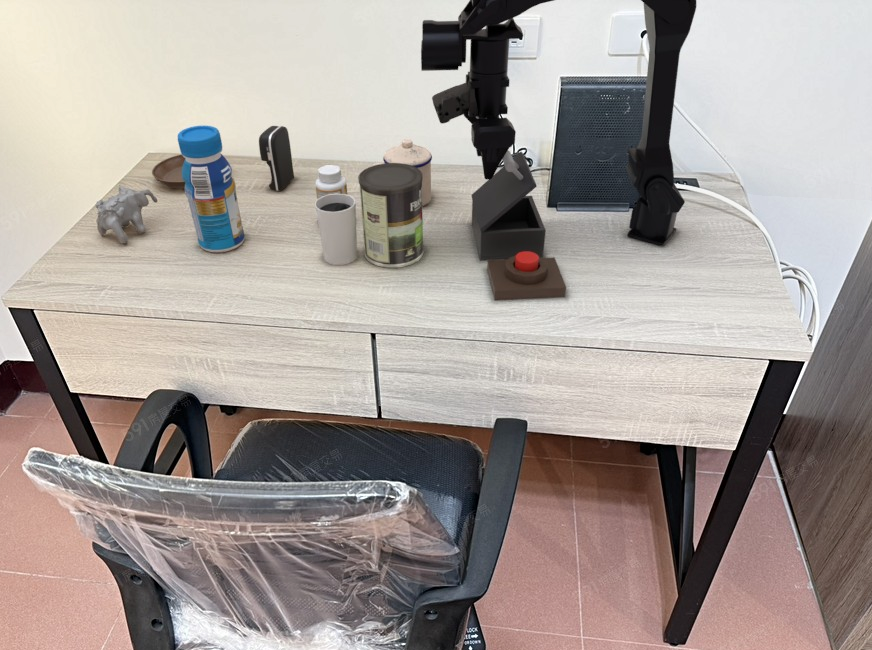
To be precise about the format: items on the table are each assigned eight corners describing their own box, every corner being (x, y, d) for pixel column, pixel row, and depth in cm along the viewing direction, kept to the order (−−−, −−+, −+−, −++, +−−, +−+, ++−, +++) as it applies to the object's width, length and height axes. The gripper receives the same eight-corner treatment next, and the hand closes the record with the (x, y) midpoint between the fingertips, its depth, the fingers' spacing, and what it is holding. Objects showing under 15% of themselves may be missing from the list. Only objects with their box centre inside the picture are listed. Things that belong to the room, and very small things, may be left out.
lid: (523, 154, 120) (506, 135, 118) (537, 186, 111) (519, 167, 109) (473, 197, 125) (456, 180, 123) (482, 232, 115) (464, 214, 113)
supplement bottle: (334, 211, 134) (329, 160, 128) (356, 220, 132) (351, 167, 125) (313, 223, 131) (307, 170, 125) (335, 232, 128) (329, 178, 122)
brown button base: (553, 267, 117) (555, 248, 115) (565, 297, 110) (567, 278, 108) (487, 270, 117) (487, 251, 114) (494, 301, 110) (495, 281, 108)
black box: (529, 222, 129) (532, 195, 125) (542, 258, 119) (545, 229, 116) (471, 225, 129) (472, 198, 125) (479, 261, 119) (481, 233, 116)
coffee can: (428, 240, 125) (427, 163, 116) (417, 270, 117) (416, 191, 108) (371, 236, 127) (366, 160, 118) (357, 265, 119) (350, 187, 110)
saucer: (142, 179, 149) (138, 166, 147) (204, 157, 156) (201, 145, 154) (177, 201, 140) (173, 188, 138) (240, 177, 148) (238, 165, 146)
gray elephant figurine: (91, 242, 128) (77, 203, 123) (129, 212, 137) (117, 174, 132) (135, 248, 126) (123, 208, 121) (171, 217, 135) (161, 179, 130)
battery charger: (279, 176, 147) (270, 121, 140) (295, 178, 146) (287, 123, 139) (263, 190, 142) (254, 135, 135) (281, 192, 141) (272, 136, 134)
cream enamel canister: (434, 189, 140) (433, 131, 133) (430, 211, 133) (429, 151, 126) (374, 188, 142) (370, 131, 134) (367, 209, 135) (363, 150, 127)
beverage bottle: (189, 243, 127) (160, 134, 114) (227, 226, 131) (204, 118, 118) (216, 259, 122) (190, 147, 109) (255, 240, 127) (235, 130, 114)
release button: (535, 260, 113) (536, 250, 112) (539, 272, 110) (540, 262, 109) (513, 261, 113) (513, 251, 112) (516, 273, 110) (517, 263, 109)
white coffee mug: (342, 242, 125) (337, 189, 119) (367, 255, 122) (363, 202, 115) (313, 256, 122) (306, 203, 115) (338, 270, 118) (332, 216, 112)
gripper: (430, 53, 114) (431, 147, 124) (441, 91, 100) (440, 194, 110) (499, 50, 114) (494, 144, 124) (519, 88, 100) (512, 191, 110)
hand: (484, 167), depth 117 cm, fingers open, 9 cm apart
